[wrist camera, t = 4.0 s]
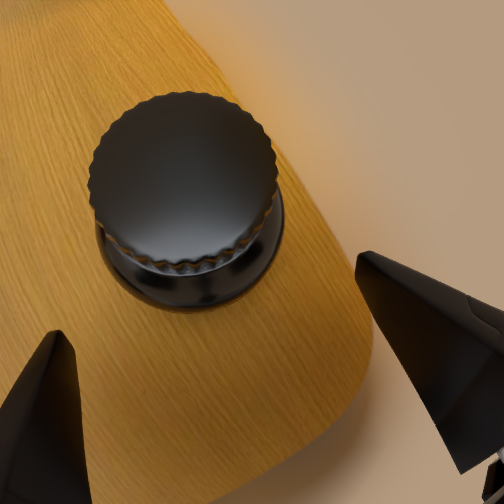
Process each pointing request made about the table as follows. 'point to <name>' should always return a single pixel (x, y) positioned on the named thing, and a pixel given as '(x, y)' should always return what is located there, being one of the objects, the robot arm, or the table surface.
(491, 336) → the robot arm
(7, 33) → the table surface
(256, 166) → the supplement bottle
